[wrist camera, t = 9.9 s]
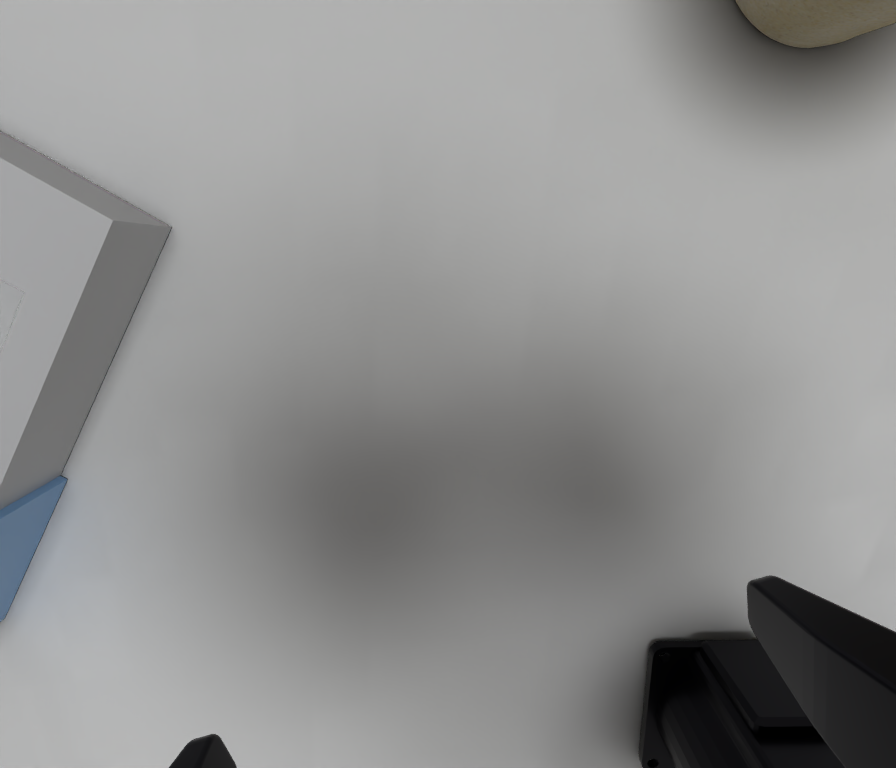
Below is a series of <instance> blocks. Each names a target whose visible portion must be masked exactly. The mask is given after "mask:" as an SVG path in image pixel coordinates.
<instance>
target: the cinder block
mask: <svg viewBox="0 0 896 768" xmlns="http://www.w3.org/2000/svg"><path fill="white" fill-rule="evenodd" d="M171 228H172V227H170V226H169V225H167V224H165V223H163V222H161V221H160V220H158V219H156V218H154V217H153V216H151V215H149V214H147V213H145V212H144V211H142V210H140V209H138V208H137V207H135V206H133V205H131V204H129V203H128V202H126V201H124V200H122V199H121V198H119V197H117V196H115V195H113V194H112V193H110V192H108V191H106V190H105V189H103V188H101V187H99V186H97V185H96V184H94V183H92V182H90V181H89V180H87V179H85V178H83V177H81V176H80V175H78V174H76V173H74V172H73V171H71V170H69V169H67V168H65V167H64V166H62V165H60V164H58V163H57V162H55V161H53V160H51V159H49V158H48V157H46V156H44V155H42V154H41V153H39V152H37V151H35V150H33V149H32V148H30V147H28V146H26V145H25V144H23V143H21V142H19V141H17V140H16V139H14V138H12V137H10V136H9V135H7V134H5V133H3V132H1V131H0V280H1V281H3V282H5V283H7V284H9V285H11V286H13V287H15V288H16V289H18V290H20V291H22V292H24V294H23V297H22V299H21V302H20V304H19V307H18V309H17V312H16V314H15V317H14V319H13V322H12V324H11V327H10V329H9V331H8V334H7V336H6V339H5V341H4V344H3V346H2V349H1V351H0V622H1V621H2V620H3V619H4V618H5V617H6V614H7V612H8V610H9V608H10V605H11V603H12V601H13V599H14V597H15V594H16V592H17V590H18V588H19V586H20V583H21V581H22V579H23V577H24V574H25V572H26V570H27V568H28V566H29V563H30V561H31V559H32V557H33V555H34V552H35V550H36V548H37V546H38V544H39V541H40V539H41V537H42V535H43V532H44V530H45V528H46V526H47V524H48V521H49V519H50V517H51V515H52V513H53V510H54V508H55V506H56V504H57V502H58V499H59V497H60V495H61V493H62V490H63V488H64V486H65V484H66V482H67V479H66V478H64V477H62V476H60V475H61V473H62V471H63V469H64V466H65V464H66V462H67V460H68V457H69V455H70V453H71V451H72V449H73V446H74V444H75V442H76V440H77V437H78V435H79V433H80V431H81V428H82V426H83V424H84V422H85V420H86V417H87V415H88V413H89V411H90V408H91V406H92V404H93V402H94V399H95V397H96V395H97V393H98V391H99V388H100V386H101V384H102V382H103V379H104V377H105V375H106V373H107V370H108V368H109V366H110V364H111V362H112V359H113V357H114V355H115V353H116V350H117V348H118V346H119V344H120V341H121V339H122V337H123V335H124V333H125V330H126V328H127V326H128V324H129V321H130V319H131V317H132V315H133V313H134V310H135V308H136V306H137V304H138V301H139V299H140V297H141V295H142V292H143V290H144V288H145V286H146V284H147V281H148V279H149V277H150V275H151V272H152V270H153V268H154V266H155V263H156V261H157V259H158V257H159V255H160V252H161V250H162V248H163V246H164V243H165V241H166V239H167V237H168V234H169V232H170V230H171Z"/></svg>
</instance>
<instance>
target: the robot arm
mask: <svg viewBox="0 0 896 768" xmlns="http://www.w3.org/2000/svg"><path fill="white" fill-rule="evenodd" d="M747 603H748V619H749V623H750V626H751V628H752V630H753V632H754V634H755V635H756V637H757V639H758V640H701V641H658V642H656V643H654V644H653V645H652V646H651V647H650V650H649V658H648V668H647V678H646V687H645V697H644V707H643V717H642V727H641V737H640V747H639V760H640V762H641V765H642V767H643V768H896V632H895V631H893V630H890V629H888V628H886V627H884V626H882V625H880V624H877V623H875V622H873V621H871V620H869V619H867V618H865V617H862V616H860V615H858V614H856V613H854V612H852V611H849V610H847V609H845V608H843V607H841V606H839V605H837V604H834V603H832V602H830V601H828V600H826V599H824V598H821V597H819V596H817V595H815V594H813V593H811V592H809V591H806V590H804V589H802V588H800V587H798V586H796V585H794V584H791V583H789V582H787V581H785V580H783V579H781V578H778V577H776V576H765V577H762V578H758V579H755V580H751V581H750V582H749V583H748V585H747ZM664 652H666V654H664V655H662V656H659V655H660V654H661V653H664ZM650 759H651V760H650ZM169 768H237V767H236V764H235V762H234V760H233V759H232V757H231V755H230V754H229V752H228V750H227V748H226V747H225V745H224V743H223V741H222V740H221V738H220V737H219V736H218V735H216V734H210V735H207V736H203V737H200V738H196V739H194V740H192V741H190V742H189V743H188V744H187V745H186V746H185V747H184V749H183V750H182V751H181V752H180V754H179V755H178V756H177V758H176V759H175V760H174V762H173V763H172V764H171V766H170V767H169Z"/></svg>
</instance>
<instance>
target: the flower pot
mask: <svg viewBox="0 0 896 768" xmlns="http://www.w3.org/2000/svg"><path fill="white" fill-rule="evenodd" d="M736 2H737V4H738V6H739V8H740V9H741V11H742V12H743V14H744V15H745V16H746V17H747V19H748V20H749V21H750V22H751V23H752V24H753V25H754V26H755V27H756V28H757V29H758V30H760V31H761V32H762V33H763V34H765V35H766V36H768V37H770V38H771V39H773V40H775V41H778V42H780V43H783V44H786V45H789V46H794V47H800V48H813V47H820V46H826V45H831V44H836V43H840V42H843V41H846V40H849V39H851V38H853V37H855V36H858V35H861V34H864V33H867V32H870V31H873V30H876V29H879V28H882V27H885V26H888V25H891V24H894V23H896V0H736Z"/></svg>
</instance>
